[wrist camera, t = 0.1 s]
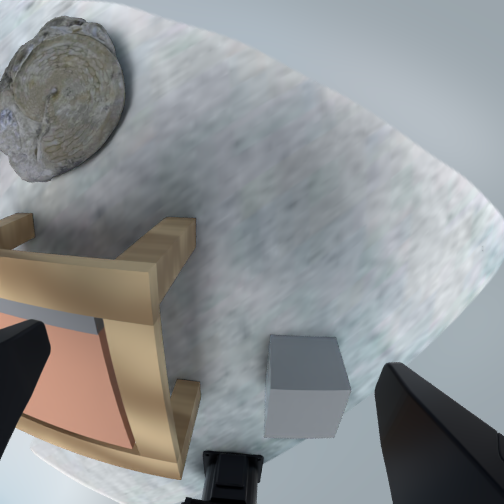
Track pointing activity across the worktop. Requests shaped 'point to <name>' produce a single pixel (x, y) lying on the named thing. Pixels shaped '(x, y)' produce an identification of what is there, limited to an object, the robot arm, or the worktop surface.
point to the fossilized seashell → (60, 98)
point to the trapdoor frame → (115, 335)
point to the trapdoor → (75, 375)
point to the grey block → (304, 387)
